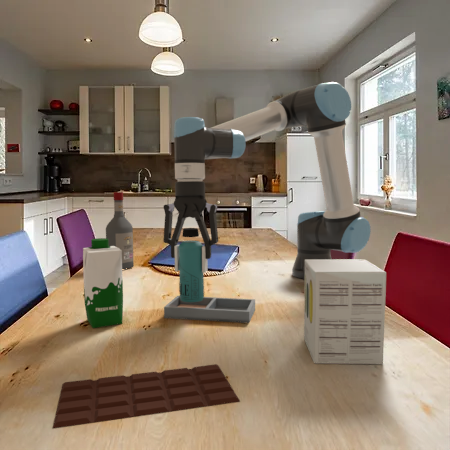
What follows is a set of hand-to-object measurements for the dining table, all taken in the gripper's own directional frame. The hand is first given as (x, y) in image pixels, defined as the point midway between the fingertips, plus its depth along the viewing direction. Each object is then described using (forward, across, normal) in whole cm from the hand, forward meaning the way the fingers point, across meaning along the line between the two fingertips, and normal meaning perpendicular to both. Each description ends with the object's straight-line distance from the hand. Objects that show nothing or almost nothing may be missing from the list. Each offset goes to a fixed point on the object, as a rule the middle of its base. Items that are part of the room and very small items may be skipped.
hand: (191, 270), depth 111 cm
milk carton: (+11, -19, -11) cm, 25 cm away
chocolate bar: (+12, +4, -43) cm, 44 cm away
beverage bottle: (+9, 0, 0) cm, 9 cm away
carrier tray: (+11, +5, 0) cm, 12 cm away
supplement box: (+11, +36, -19) cm, 42 cm away
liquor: (+11, -44, +52) cm, 69 cm away
